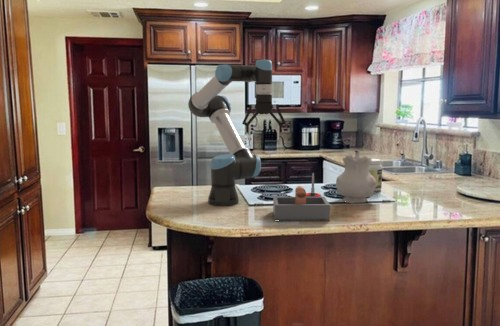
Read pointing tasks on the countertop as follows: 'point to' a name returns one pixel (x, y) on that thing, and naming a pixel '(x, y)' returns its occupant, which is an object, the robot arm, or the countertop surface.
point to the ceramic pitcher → (356, 179)
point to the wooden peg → (300, 195)
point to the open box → (301, 209)
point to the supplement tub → (376, 172)
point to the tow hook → (313, 190)
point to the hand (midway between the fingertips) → (263, 139)
